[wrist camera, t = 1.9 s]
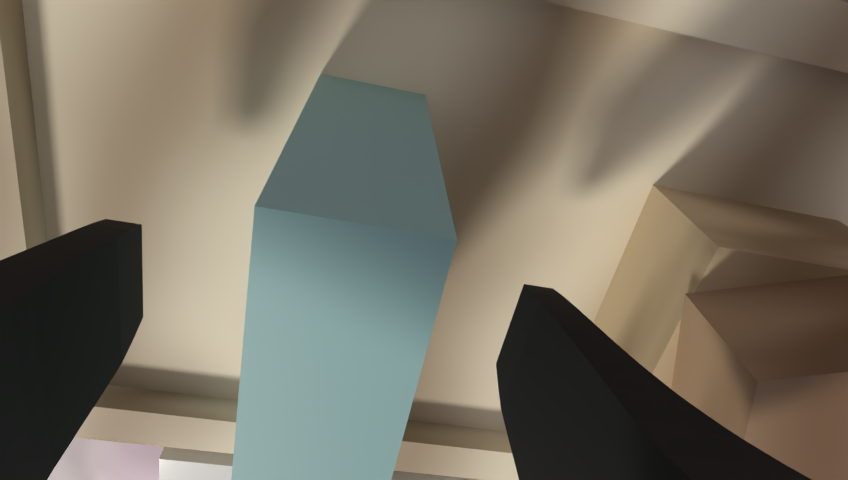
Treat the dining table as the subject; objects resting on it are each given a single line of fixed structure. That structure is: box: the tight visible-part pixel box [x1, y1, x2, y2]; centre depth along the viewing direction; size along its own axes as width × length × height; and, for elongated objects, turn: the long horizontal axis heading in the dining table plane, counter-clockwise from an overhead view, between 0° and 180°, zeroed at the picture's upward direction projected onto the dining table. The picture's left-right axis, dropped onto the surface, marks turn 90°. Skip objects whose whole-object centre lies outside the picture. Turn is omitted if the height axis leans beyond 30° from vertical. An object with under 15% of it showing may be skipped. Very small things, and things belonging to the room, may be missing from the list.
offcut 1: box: [593, 185, 848, 389], centre depth 13 cm, size 5×5×3 cm
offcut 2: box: [671, 275, 848, 480], centre depth 11 cm, size 4×5×2 cm
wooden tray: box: [0, 0, 848, 480], centre depth 14 cm, size 22×14×2 cm, turn 78°
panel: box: [231, 74, 457, 480], centre depth 11 cm, size 2×7×6 cm, turn 168°
